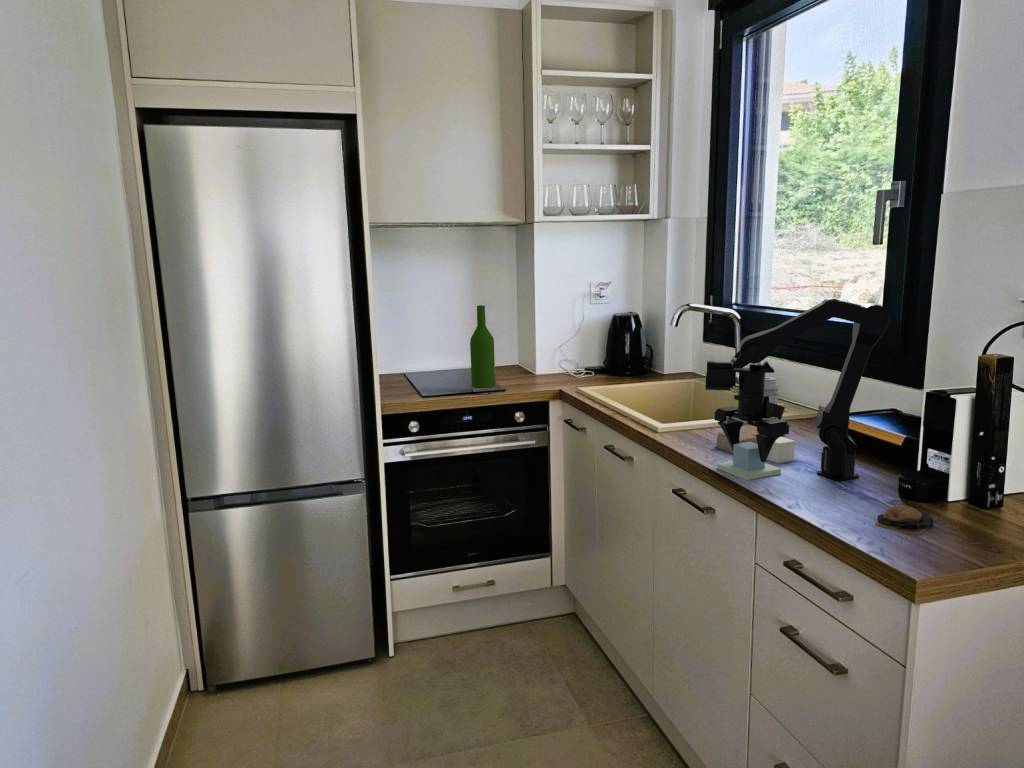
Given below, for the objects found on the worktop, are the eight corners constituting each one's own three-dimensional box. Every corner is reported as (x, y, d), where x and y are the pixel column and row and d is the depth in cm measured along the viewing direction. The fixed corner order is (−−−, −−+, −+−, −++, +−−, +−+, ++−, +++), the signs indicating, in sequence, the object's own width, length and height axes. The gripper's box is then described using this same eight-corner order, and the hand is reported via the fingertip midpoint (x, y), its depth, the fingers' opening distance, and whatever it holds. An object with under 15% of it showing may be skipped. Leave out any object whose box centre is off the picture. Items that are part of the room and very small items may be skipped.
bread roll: (918, 540, 126) (920, 520, 125) (869, 527, 132) (871, 508, 132) (939, 523, 133) (941, 505, 132) (892, 511, 139) (893, 494, 138)
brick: (736, 455, 178) (737, 437, 177) (714, 447, 186) (715, 430, 185) (786, 447, 185) (786, 429, 184) (762, 439, 192) (763, 422, 191)
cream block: (794, 460, 172) (795, 440, 171) (778, 463, 170) (779, 443, 169) (778, 455, 177) (779, 436, 176) (763, 458, 175) (764, 438, 174)
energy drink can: (772, 426, 204) (774, 375, 201) (779, 432, 198) (781, 379, 195) (751, 427, 204) (752, 376, 201) (757, 432, 198) (759, 380, 195)
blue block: (764, 467, 163) (765, 446, 162) (747, 470, 161) (748, 449, 160) (749, 461, 168) (750, 441, 167) (732, 464, 166) (733, 444, 165)
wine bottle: (500, 392, 264) (497, 305, 258) (480, 395, 259) (476, 307, 253) (487, 389, 271) (484, 304, 265) (467, 392, 266) (464, 305, 260)
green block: (780, 473, 162) (780, 468, 162) (746, 480, 158) (746, 475, 158) (750, 462, 171) (750, 457, 171) (717, 468, 167) (717, 463, 167)
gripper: (809, 394, 156) (806, 462, 159) (750, 381, 173) (748, 442, 176) (770, 400, 152) (767, 469, 154) (713, 385, 168) (712, 448, 171)
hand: (749, 456), depth 164 cm, fingers open, 9 cm apart
